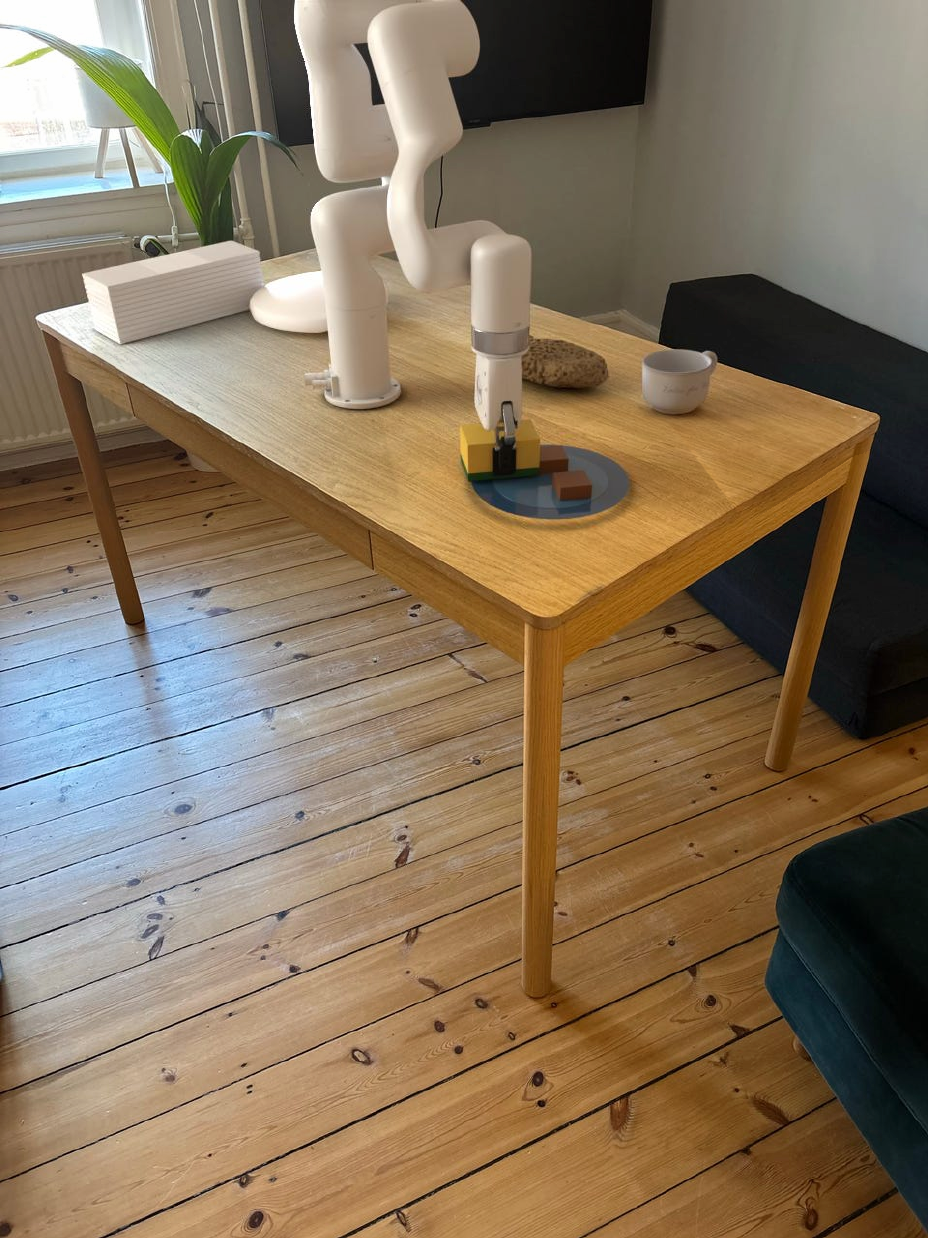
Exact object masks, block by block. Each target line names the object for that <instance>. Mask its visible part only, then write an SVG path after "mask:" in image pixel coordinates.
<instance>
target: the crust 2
mask: <svg viewBox="0 0 928 1238" xmlns="http://www.w3.org/2000/svg"><path fill="white" fill-rule="evenodd" d="M552 486H553V488H554V490H555V492H556V494H557V496H558V498H559V500H560V501H563V500H574V499H584V498H591V496H592V484H591V482H590V480H589V478H588V477H587V475H586V473H585V471H584V470H577V471H566V472H555V473H552Z"/></svg>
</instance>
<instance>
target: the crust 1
mask: <svg viewBox="0 0 928 1238" xmlns="http://www.w3.org/2000/svg"><path fill="white" fill-rule="evenodd" d="M555 445H556V446H543V447H540V460H539V474H544V473H555V472H566V471H568V463H569V458H568V456H567V455H566V453H565V451H564V449H563V447H562V445H563V444H555Z"/></svg>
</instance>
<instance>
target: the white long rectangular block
mask: <svg viewBox="0 0 928 1238" xmlns="http://www.w3.org/2000/svg"><path fill="white" fill-rule="evenodd" d="M260 253H261V252H260V251H259V250H257V249H254V248H252V247H249V246H246V245H244V244H241V243H240V242H239V243H238V242H236V241H234V240H227V241H223V242H218V243H214V244H209V245H205V246H199V247H196V248H191V249H187V250H183V251H178V252H173V253H169V254H165V255H160V256H155V257H151V258H146V259H141V260H137V261H133V262H132V261H131V262H128V263H124V264H119V265H115V266H110V267H106V268H101V269H97V270H92V271H89V272H88V271H87V272H84V273H81V275H82V279H83V284H84V288H85V294H86V296H87V299H88V300H87V302H88V304H89V309H90V314H91V318H92V323H93V326H94V330H95V331H96V332H98V333H100V334H102V335H104V336H105V337H107V338H108V339H110V340H112V341H114V342H116V343H117V344H119V345H123V344H126V343H131V342H134V341H138V340H141V339H142V340H143V339H145V338H149V337H152V336H153V337H154V336H156V335H160V334H165V333H167V332H171V331H176V330H179V329H183V328H186V327H190V326H194V325H197V324H202V323H205V322H209V321H212V320H218V319H220V318H223V317H227V316H231V315H235V314H238V313H242V312H246V311H251V310H250V300H251V298H252V297H253V295H254V293H256V292H257V291H258V290H259V289H260V288H262V287H264V286H265V284H264V277H263V269H262V262H261V254H260Z"/></svg>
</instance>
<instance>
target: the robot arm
mask: <svg viewBox="0 0 928 1238" xmlns="http://www.w3.org/2000/svg"><path fill="white" fill-rule="evenodd" d="M293 14H294V25H295V32H296V35H297V40H298V43H299V47H300V49H301V53H302V56H303V58H304V61H305V62H304V63H305V67H306V70H307V75H308V83H309V95H310V96H309V97H310V107H311V108H310V109H311V119H312V129H313V140H314V151H315V158H316V164H317V166H318V170H319V171H320V174H321V175H322V176H323V177H324V178H325V179H326V180H327V181H329V182H332V183H337V184H348V183H349V184H350V183H357V182H361V181H362V182H363V181H367V180H369V181H370V180H373V179H374V180H376V179H380V178H381V185H376V186H375V185H374V186H369V187H361V188H355V189H350V190H343V191H339V192H335V193H331V194H329V195H326V196H324V197H323V198H321V199H320V200H319V201H317V203H316V204H315V205H314V207H312V211H311V214H310V228H311V234H312V238H313V242H314V245H315V249H316V253H317V256H318V261H319V265H320V266H319V267H320V271H321V272H322V278H323V286H324V296H325V305H326V315H327V326H328V331H327V335H328V345H329V347H328V348H329V356H330V357H329V358H330V363H329V364H328V369H324V370H323V372H305V373H303V374H304V384H305V386H312V389H313V390H319V389H323V392H324V398H325V400H326V401H327V402H328V403H330V404H331V405H334V406H335V407H340V408H341V409H342V408H343V409H347V410H348V409H349V410H368V409H375V408H380V407H383V406H386V405H389V404H391V403H393V402H395V401H396V400H397V399H398V398H399V397H400V396H401V393H402V390H401V387H402V386H401V384H400V382H399V381H398V380H396V379H395V378H393V377H391V363H390V348H389V347H390V344H389V330H388V312H387V310H388V309H387V305H386V294H385V286H384V283H383V281H384V280H383V279H382V276H381V275H380V274H379V273H378V271H377V270H376V269H375V268H374V266H373V265H372V263H371V261H370V259H371V258H372V257H374V256H378V255H382V254H387V253H392V252H395V253H396V257H397V259H398V263H399V265H400V267H401V270H402V272H403V274H404V277H405V278H406V280H407V282H408V283H409V284H410V286H411V287H412V288H414V289H415V290H417V291H418V292H420V293H423V294H434V293H439V292H443V291H448V290H451V289H455V288H459V287H463V286H464V287H465V286H470V329H471V330H470V332H471V334H470V338H471V340H470V342H471V344H470V345H471V346H470V347H471V348H470V349H471V351H472V353H474V354H475V372H474V373H475V374H474V375H475V376H474V407H475V410H476V413H477V415H478V418H479V420H480V423H482V425H483V427H484V428H485V429H486V430H487V431H490V430H494V443H495V448H492V473H493V475H494V476H503V475H514V474H515V473H516V449H517V448H516V435H515V428H516V429H517V428H518V427H519V426H520V425H521V420H522V415H523V413H522V412H523V378H522V360H521V355H523V354H525V353H527V352H528V350H529V335H530V331H531V329H530V328H531V327H530V326H531V325H530V324H531V293H532V292H531V289H532V288H531V287H532V248H531V245H530V243H529V241H528V240H526V239H525V238H523V237H521V236H519V235H515V234H508V233H507V232H506V231H504V230H503V229H501V227H499V226H498V225H497V224H495V223H493V222H491V221H489V220H485V219H479V220H478V219H477V220H471V221H466V222H461V223H454V224H448V225H445V226H439V227H435V228H429V229H428V228H427V225H426V221H425V184H424V183H425V182H424V179H425V178H424V175H425V173H426V171H427V169H428V168H429V166H431V165H432V164H433V163H435V161H436V160H438V159H439V158H441V157H442V156H444V155H445V154H447V153H448V152H450V151H451V150H452V149H453V148H454V147H456V145H457V144H458V143H459V142H460V141H461V139H462V137H463V134H464V133H463V132H464V127H463V123H462V119H461V116H460V114H459V113H460V112H459V110H458V107H457V103H456V99H455V97H454V93H453V89H452V86H451V83H450V80H449V78H455V77H462V76H465V75H467V74H469V73H471V72H472V70H474V68H475V67H476V65H477V63H478V60H479V56H480V50H481V42H480V41H481V40H480V35H479V31H478V27H477V24H476V21H475V19H474V17H473V16H472V13H471V12H470V10H469V9H468V7H467V6H466V5H465V4H464V2H462V0H294V13H293ZM358 44H367V48H368V51H369V55H370V58H371V61H372V65H373V68H374V72H375V74H376V75H375V76H376V78H377V81H378V85H379V88H380V91H381V95H382V98H383V102H384V103H383V104H375V105H373V101H372V100H373V98H372V80H371V73H370V70H369V66H368V65H367V63H366V61H365V59H364V58H363V56H362V54H361V53H360V52H359V49H357V47H356V46H355V45H358ZM498 422H503V426H500V427H497V424H498ZM499 431H504V436H501V439H500V440H499Z"/></svg>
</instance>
